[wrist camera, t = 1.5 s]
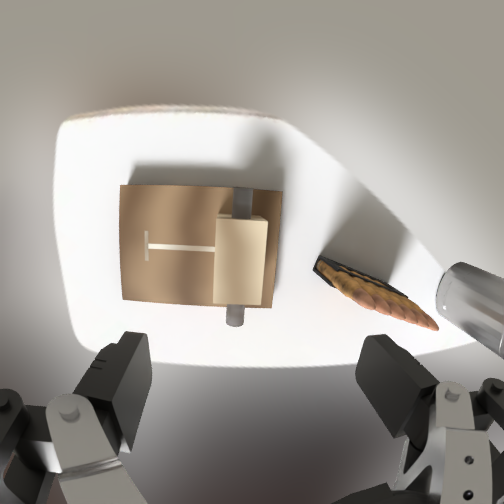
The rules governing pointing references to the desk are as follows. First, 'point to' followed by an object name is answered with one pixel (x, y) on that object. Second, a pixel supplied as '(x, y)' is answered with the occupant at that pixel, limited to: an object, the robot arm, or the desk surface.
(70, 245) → the desk surface
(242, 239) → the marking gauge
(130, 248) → the walnut board
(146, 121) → the desk surface
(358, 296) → the ammunition clip
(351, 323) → the desk surface
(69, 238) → the desk surface
